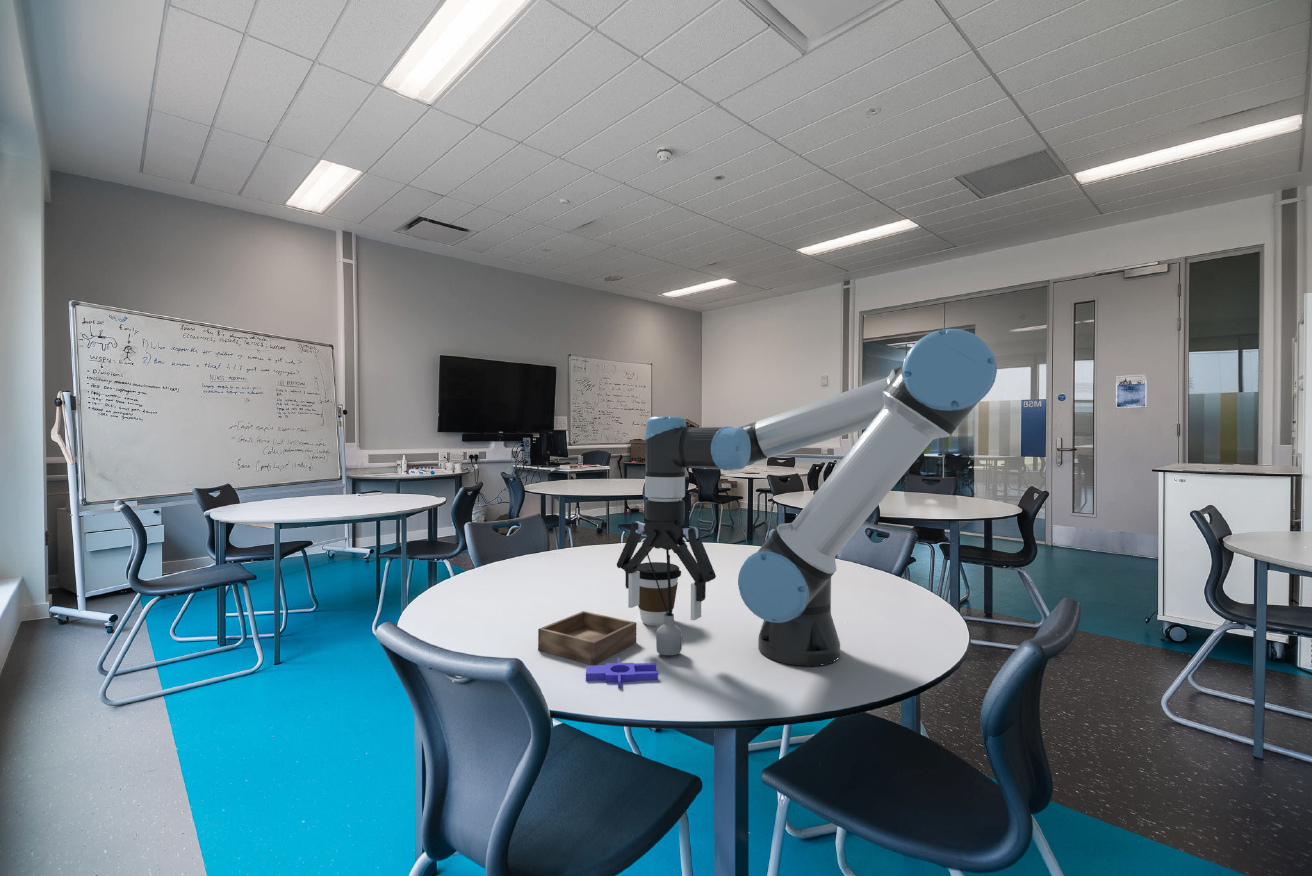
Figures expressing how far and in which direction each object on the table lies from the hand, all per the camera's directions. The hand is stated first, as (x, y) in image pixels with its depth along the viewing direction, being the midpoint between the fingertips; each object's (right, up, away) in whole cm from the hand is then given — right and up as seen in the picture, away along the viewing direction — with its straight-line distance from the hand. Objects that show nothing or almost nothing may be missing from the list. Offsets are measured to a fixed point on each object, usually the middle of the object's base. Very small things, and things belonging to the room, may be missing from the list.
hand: (663, 612), depth 108 cm
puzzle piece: (-7, -8, -10) cm, 15 cm away
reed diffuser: (0, -8, 0) cm, 8 cm away
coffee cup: (-1, -8, +19) cm, 20 cm away
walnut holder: (-15, -8, +3) cm, 17 cm away
